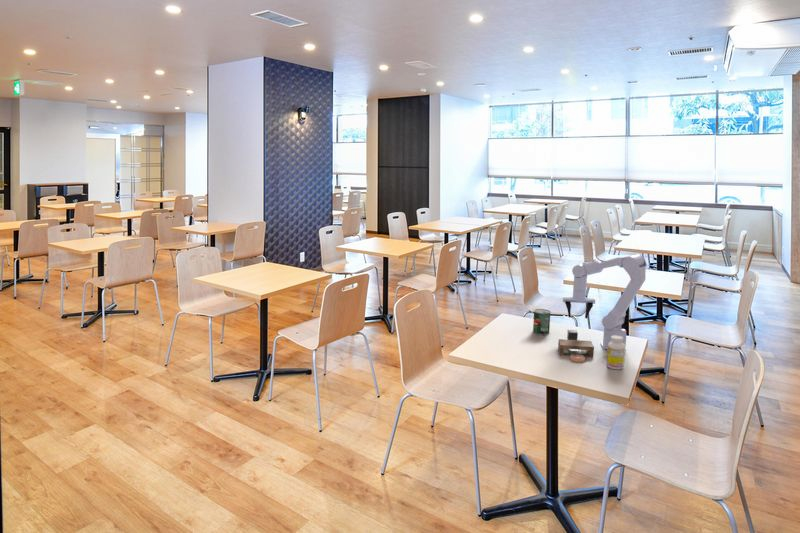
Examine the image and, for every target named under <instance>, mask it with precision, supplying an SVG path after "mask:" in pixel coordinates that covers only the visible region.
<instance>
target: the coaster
mask: <svg viewBox="0 0 800 533" xmlns="http://www.w3.org/2000/svg"><path fill="white" fill-rule="evenodd" d="M569 360H570V361H571V362H574V363H585V362H586V357H585V355H583V354H582V355H577V354H574V355H572V354H570V358H569Z"/></svg>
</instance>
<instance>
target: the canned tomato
mask: <svg viewBox="0 0 800 533" xmlns="http://www.w3.org/2000/svg"><path fill="white" fill-rule="evenodd" d="M551 313H552V312H551V310H549V309H544V308H537V309H534V310H533V324H532V325H533V326H532V332H533V334H535V335H538V334H539V335H540V336H547V335H549V334H550V328H551Z"/></svg>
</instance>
